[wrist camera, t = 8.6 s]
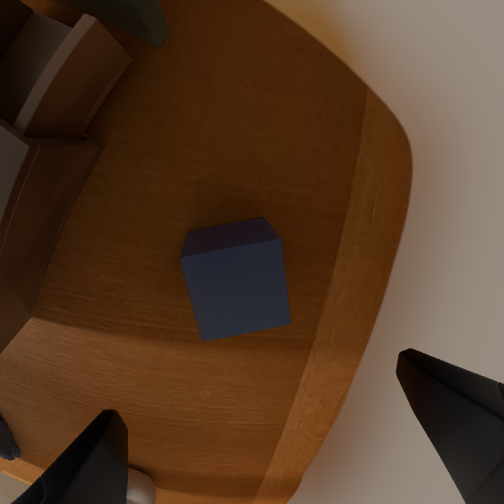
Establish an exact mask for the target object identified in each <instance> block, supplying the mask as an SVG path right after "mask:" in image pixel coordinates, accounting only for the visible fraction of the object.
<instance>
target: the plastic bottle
mask: <svg viewBox="0 0 504 504" xmlns="http://www.w3.org/2000/svg"><path fill="white" fill-rule="evenodd" d="M155 501H156V488H155V485H154V483H153V481H152V480H151V478H150V477H149V476H147V475H146V474H144V473H142V472H140V471H138V470H135V469H131V468H128V485H127V501H126V504H155Z"/></svg>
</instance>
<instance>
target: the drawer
mask: <svg viewBox="0 0 504 504" xmlns="http://www.w3.org/2000/svg"><path fill="white" fill-rule="evenodd" d="M53 1H55V2H58V3H61V4H63V5H66V6H69V7H71V8H74V9H76V10H79V11H81V12H84V13H86V14H84V15H83V16H82V17H81V18H80V20H79V21H78V22H77V23H76V25H75V26H74V27H71V26H69V25H67V24H65V23H62V22H60V21H58V20H55V19H53V18H51V17H48V16H46V15H43V14H41V13H38V12H36V11H33V10H32V9H31V8H29V7H28V6H26V5H25V4H23V3H22V2H21V1H19V0H0V118H1V119H2V120H4V121H5V122H7V123H8V124H9V125H11V126H12V127H13V128H15V129H16V130H18V131H19V132H20V133H22V134H23V135H25V136H26V137H27V138H49V139H75V140H80V138H81V137H82V135H83V133H84V131H85V130H86V128H87V126H88V125H89V123H90V121H91V120H92V118H93V116H94V115H95V113H96V112H97V110H98V109H99V107H100V105H101V104H102V102H103V101H104V99H105V98H106V96H107V95H108V93H109V92H110V90H111V89H112V87H113V86H114V85H115V83H116V82H117V80H118V79H119V78H120V76H121V75H122V73H123V72H124V71H125V69H126V68H127V67H128V65H129V64H130V63H131V62H132V60H133V59H132V57H131V56H130V55H129V54H128V53H127V51H126V50H125V49H124V48H123V47H122V46H121V45H120V43H119V42H118V41H117V40H116V39H115V38H114V37H113V35H112V34H111V33H110V32H109V31H108V30H107V29H106V28H105V26H104V25H103V24H102V23H101V22H100V21H99V20H98V19H100V20H102V21H104V22H106V23H109V24H111V25H113V26H115V27H117V28H119V29H121V30H123V31H125V32H127V33H129V34H131V35H133V36H135V37H137V38H139V39H141V40H143V41H145V42H147V43H149V44H151V45H153V46H154V47H156V48H158V47H159V46H160V45H161V44H162V42H163V41H164V40H165V39H166V38H167V37H168V35H169V34H170V32H169V29H168V26H167V23H166V20H165V18H164V15H163V12H162V9H161V6H160V3H159V0H53ZM97 18H98V19H97Z"/></svg>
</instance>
